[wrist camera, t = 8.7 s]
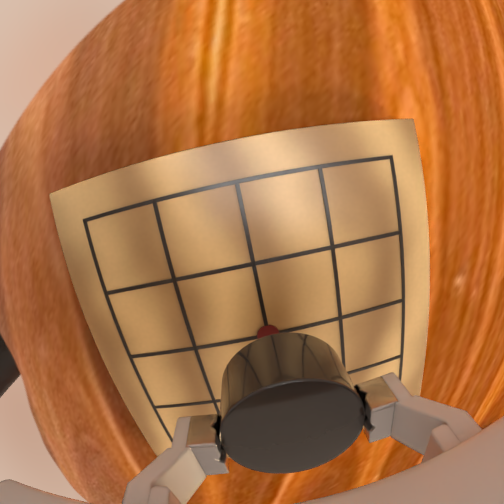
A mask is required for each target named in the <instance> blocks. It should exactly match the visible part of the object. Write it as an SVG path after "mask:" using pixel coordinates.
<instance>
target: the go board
mask: <svg viewBox="0 0 504 504" xmlns="http://www.w3.org/2000/svg"><path fill="white" fill-rule="evenodd" d="M49 196H50V201H51V206H52V210H53V215H54V219H55V223H56V228H57V232H58V236H59V239H60V243H61V247H62V250H63V254H64V257H65V261H66V264H67V267H68V271H69V274H70V277H71V280H72V283H73V286H74V289H75V292H76V295H77V297H78V300H79V303H80V306H81V308H82V311H83V314H84V316H85V319H86V321H87V324H88V326H89V329H90V331H91V334H92V336H93V339H94V341H95V343H96V345H97V348H98V350H99V352H100V354H101V357H102V359H103V361H104V363H105V365H106V367H107V369H108V372H109V374H110V376H111V378H112V380H113V382H114V384H115V386H116V388H117V389H118V391H119V393H120V395H121V397H122V399H123V401H124V403H125V404H126V406H127V408H128V410H129V412H130V413H131V415H132V417H133V419H134V420H135V422H136V424H137V425H138V427H139V429H140V430H141V432H142V434H143V435H144V437H145V438H146V440H147V442H148V443H149V445H150V446H151V448H152V449H153V451H154V452H155V454H156V455H157V457H158V456H159V455H160V454H161V453H163V452H164V451H165V450H166V449H167V448H171V446H172V441H173V436H174V432H175V427H176V422H177V419H178V418H179V417H187V416H197V415H209V414H219V415H220V402H221V385H222V377H223V373H224V370H225V368H226V366H227V364H228V363H229V361H230V360H231V359H232V357H233V356H234V355H235V354H236V353H237V352H238V351H240V350H241V349H242V348H243V347H245V346H246V345H248V344H249V343H251V342H253V341H255V340H257V339H259V338H262V337H265V336H268V335H272V334H278V333H288V332H293V333H303V334H308V335H311V336H314V337H317V338H319V339H321V340H323V341H324V342H326V343H327V344H329V345H330V346H331V347H332V348H333V349H334V350H335V351H336V353H337V354H338V356H339V358H340V360H341V362H342V363H343V365H344V367H345V369H346V371H347V373H348V374H349V376H350V378H351V380H352V382H353V384H354V386H355V384H358V383H362V382H365V381H368V380H371V379H374V378H377V377H380V376H382V375H385V374H388V373H390V372H394V373H395V374H396V376H397V377H398V378H399V380H400V381H401V382H402V383H403V385H404V386H405V387H406V389H407V390H408V391H409V393H410V394H411V395H412V396H415V395H417V396H420V391H421V384H422V378H423V371H424V363H425V354H426V345H427V333H428V319H429V298H430V250H429V229H428V215H427V203H426V194H425V185H424V177H423V170H422V163H421V157H420V151H419V145H418V139H417V134H416V129H415V124H414V120H413V119H391V120H374V121H360V122H348V123H338V124H329V125H320V126H312V127H304V128H297V129H290V130H283V131H277V132H271V133H265V134H259V135H254V136H248V137H243V138H238V139H233V140H228V141H223V142H219V143H214V144H209V145H205V146H201V147H196V148H192V149H188V150H184V151H180V152H176V153H172V154H169V155H165V156H161V157H157V158H154V159H150V160H147V161H143V162H140V163H137V164H133V165H130V166H127V167H123V168H120V169H117V170H114V171H111V172H108V173H105V174H102V175H99V176H96V177H93V178H90V179H87V180H85V181H82V182H79V183H76V184H74V185H71V186H68V187H66V188H63V189H60V190H58V191H55V192H53V193H50V194H49ZM363 428H364V426H363ZM227 456H228V455H227ZM228 457H229V456H228Z"/></svg>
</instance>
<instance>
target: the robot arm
mask: <svg viewBox="0 0 504 504" xmlns="http://www.w3.org/2000/svg"><path fill="white" fill-rule="evenodd" d="M355 388H356V389H357V391H358V393H359V395H360V397H361V399H362V401H363V403H364V406H365V414H366V416H365V420H364V433H365V435H366V437H367V439H368V441H369V443H371V442H374V441H377V440H380V439H383V438H386V437H389V436H391V437H392V438H394V439H395V440H397V441H399V442H401V443H402V444H404V445H406V446H408V447H410V448H411V449H413V450H415V451H417V452H419V453H421V454H423V455H424V457H423V459H422V462H421V463H420V464H418V465H416V466H414V467H411V468H409V469H407V470H404V471H402V472H400V473H397V474H395V475H392V476H390V477H387V478H384V479H382V480H379V481H376V482H373V483H370V484H367V485H364V486H361V487H358V488H355V489H352V490H348V491H345V492H342V493H338V494H334V495H330V496H327V497H323V498H318V499H314V500H309V501H305V502H300V503H295V504H504V416H502V417H501V418H500V419H498V420H497V421H495V422H494V423H492V424H491V425H489V426H488V427H486V428H485V429H483V430H482V429H481V428H480V427H479V425H478V424H477V423H476V422H475V421H474V419H473V418H472V417H471V416H470V415H469V414H468V412H467V411H465V410H461V409H458V408H455V407H451V406H448V405H445V404H442V403H438V402H435V401H432V400H429V399H426V398H423V397H420V396H417V395H415V396H412V395H411V394H410V393H409V391H408V390H407V389H406V387H405V386H404V385H403V383H402V382H401V381H400V380H399V378H398V377H397V376H396V374H395V373H394V372H390V373H388V374H385V375H382V376H380V377H377V378H374V379H371V380H368V381H365V382H362V383H358V384H355ZM219 420H220V415H219V414H209V415H197V416H187V417H179V418H178V419H177V422H176V427H175V432H174V436H173V441H172V446H171V448H167V449H166V450H165V451H164V452H163V453H161V454H160V455H159V456H158V457H157V458H156V459H155V460H154V461H153V462H151V463H150V464H149V465H148V466H147V467H146V468H145V469H144V470H142V471H141V472H140V473H139V474H138V475H137V476H136V477H134V478H133V479H132V480H131V481H130V482H129V483H128V484H127V487H126V490H125V494H124V497H123V501H122V504H186V503H187V502H188V501H189V499H190V498H191V497H192V495H193V494H194V493H195V491H196V490H197V489H198V487H199V486H200V485H201V483H202V482H203V481H204V479H205V478H206V475H215V474H224V473H229V458H228V456H227V453H226V452H225V450H224V449H223V447H222V446H221V441H220V438H219ZM0 504H93V503H88V502H84V501H79V500H75V499H71V498H66V497H63V496H59V495H56V494H52V493H48V492H45V491H42V490H39V489H36V488H32V487H30V486H27V485H24V484H22V483H19V482H16V481H13V480H4V481H1V482H0Z"/></svg>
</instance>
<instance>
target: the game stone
mask: <svg viewBox="0 0 504 504" xmlns="http://www.w3.org/2000/svg"><path fill="white" fill-rule="evenodd" d="M365 416H366V414H365V406H364V403H363V401H362V399H361V397H360V395H359V393H358V391H357V389H356V388H355V386H354V384H353V382H352V380H351V378H350V376H349V374H348V373H347V371H346V369H345V367H344V365H343V363H342V362H341V360H340V358H339V356H338V354H337V353H336V351H335V350H334V349H333V348H332V347H331V346H330V345H329V344H327V343H326V342H324V341H323V340H321V339H319V338H317V337H314V336H311V335H308V334H303V333H293V332H288V333H278V334H272V335H268V336H265V337H262V338H259V339H257V340H255V341H253V342H251V343H249V344H248V345H246V346H245V347H243V348H242V349H241V350H240V351H238V352H237V353H236V354H235V355H234V356H233V357H232V359H231V360H230V361H229V363H228V364H227V366H226V368H225V370H224V373H223V377H222V385H221V402H220V420H219V438H220V441H221V446H222V447H223V449H224V450H225V452H226V453H227V455H228V456H229V457H230V458H231V459H233V460H234V461H235V462H237V463H238V464H240V465H242V466H244V467H246V468H249V469H252V470H255V471H259V472H265V473H276V474H278V473H294V472H300V471H304V470H308V469H312V468H315V467H317V466H320V465H322V464H325V463H327V462H329V461H331V460H332V459H334V458H336V457H337V456H339V455H340V454H341V453H343V452H344V451H345V450H347V449H348V448H349V447H350V446H351V445H352V444H353V442H354V441H355V440H356V439H357V437H358V436H359V434H360V432H361V431H362V429H363V426H364V420H365Z"/></svg>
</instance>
